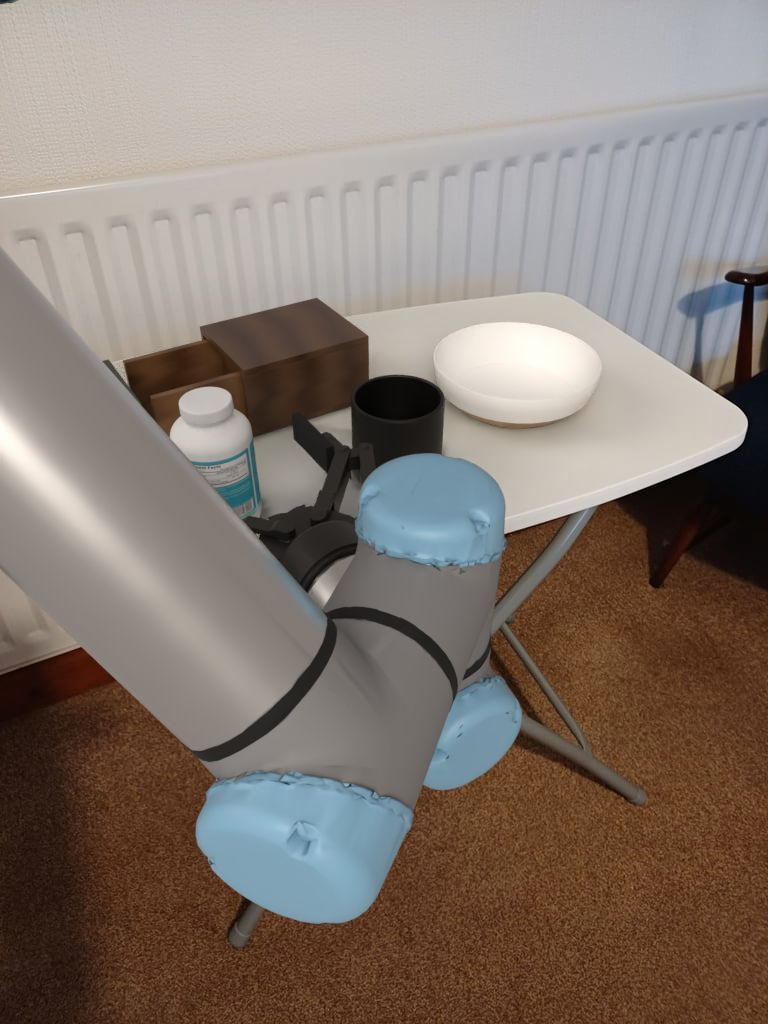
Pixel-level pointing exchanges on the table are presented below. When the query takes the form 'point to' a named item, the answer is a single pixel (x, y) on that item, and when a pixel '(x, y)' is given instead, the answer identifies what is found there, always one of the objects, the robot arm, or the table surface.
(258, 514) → the pill bottle
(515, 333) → the bowl
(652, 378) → the table surface
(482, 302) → the table surface
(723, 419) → the table surface
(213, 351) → the drawer
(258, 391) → the cabinet
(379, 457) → the mug
